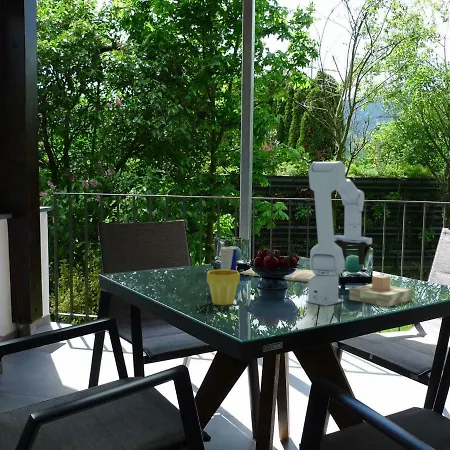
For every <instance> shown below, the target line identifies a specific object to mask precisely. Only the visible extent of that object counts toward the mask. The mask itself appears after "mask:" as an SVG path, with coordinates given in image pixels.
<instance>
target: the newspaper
mask: <svg viewBox="0 0 450 450" xmlns="http://www.w3.org/2000/svg"><path fill="white" fill-rule="evenodd" d="M295 269H296V271H295V272H294V273H293V274H291V275H289V276H286V277H285V280H284V281H290V282H291V281H292V282H299V283H300V282H301V283H309V280H310V278H312V277H313V276H315V274H313V271H312V270H311V269H310V270H309V269H300V268H295ZM240 273H241V274H244V275H243V276H245V275H249V276H248V277H254V276H259V275H258V274H257V273H255V272H254V271H253V270H252V268H250V269H249V270H246V271H243V272H240ZM258 278H261V277H260V276H259V277H258Z"/></svg>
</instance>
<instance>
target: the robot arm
mask: <svg viewBox="0 0 450 450" xmlns="http://www.w3.org/2000/svg"><path fill="white" fill-rule="evenodd" d="M345 175H346V167H345V164H344V162H343V161H342V160H338V161H312V163H310V166H309V169H308V180H309V181H308V182H309V183H308V184H309V189H310V190H311V191H313V194H314V205H315V206H314V208H315V218H316V231H317V232H316V233H317V242H318V243H317V244H315V245H314V246H313V247H312V248H311V250H310V252H309V253H310V254H309V255H310V256H309V261H308V262H309V268H310V270H311V271H313V274H315V276H313V277H312V278H310V280H309V282H307V283H308V284H307V286H308V289H307V290H308V291H307V292H308V293H307V295H308V296H307V300H305V303H309V304H310V303H311V304H314V305H321V306H323V307H324V306H330V305H334V304H335V305H336V304H338V303H343V302H345V300H344V299H341V298H339V275H340V274H341V273H342V272H343V271H344V269H345V263H346V262H347V250H348V245H349V243H357V244H356V247H357V252H358V265H364V264H365V260H366V258H367V254H368V253H369V251H370V249H371V247H372V244H373V238H372V237H365V236H362V212H363V211H364V204H365V193H364V191H363V190H361V189H358V187H356V185H355V184H354V182H353V181H352V180H351V179H350V178H347V177H346V176H345ZM334 191H337V193H338V194H339V195H340V198H341V202H342V205H343V206H344V229H343V230H344V231H343V232H344V234H343V235H341V234H334V219H333V218H334V217H333V209H332V208H333V207H332V206H333V205H332V193H333V192H334Z"/></svg>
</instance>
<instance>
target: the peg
mask: <svg viewBox="0 0 450 450" xmlns="http://www.w3.org/2000/svg"><path fill="white" fill-rule="evenodd" d="M371 280H372V281H371V284H372V290H377V291H383V292H384V291H388V290H390V286H391V276H387V275H383V274H382V275H380V274H378V275H373V276H372V278H371Z"/></svg>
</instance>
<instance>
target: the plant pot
mask: <svg viewBox="0 0 450 450" xmlns="http://www.w3.org/2000/svg"><path fill="white" fill-rule="evenodd" d="M240 276H241V275H240V273H239V272H238V271H234V270H221V269H212V270H208V271H207V272H206V283H207V284H208V286H209V290H210V291H209V292H210V296H211V301H212V304H214V305H218V306H229V305H233V304H234V302H235V297H236V293H237V287H238V285H239V284H240V279H241V277H240Z"/></svg>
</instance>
